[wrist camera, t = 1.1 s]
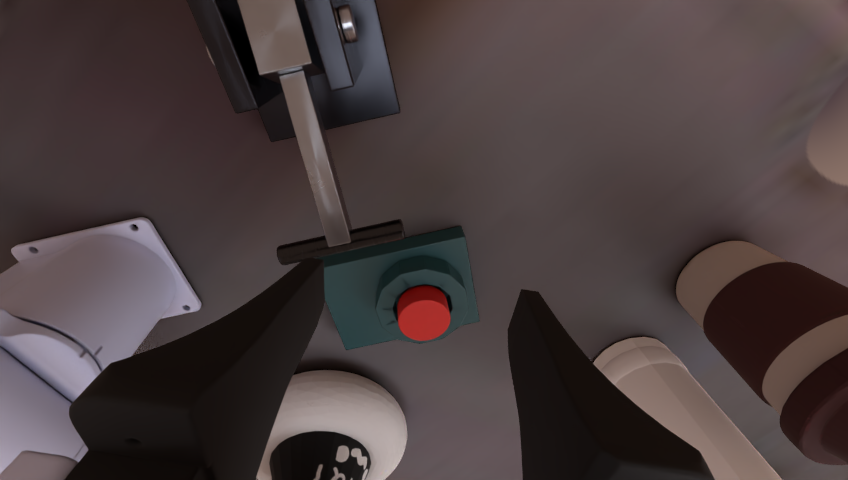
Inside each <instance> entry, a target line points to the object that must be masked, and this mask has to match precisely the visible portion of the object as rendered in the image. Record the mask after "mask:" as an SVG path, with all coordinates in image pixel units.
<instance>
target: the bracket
mask: <svg viewBox="0 0 848 480" xmlns="http://www.w3.org/2000/svg"><path fill="white" fill-rule="evenodd" d="M187 2H188V4H189V7H190V9H191V11H192V14H193V16H194V18H195V20H196V23H197V25H198V27H199V30H200V32H201V34H202V37H203V39H204V41H205V44H206V49H207V52H208V55H209V57H210V59H211V61H212V63H213V65H214V66H215V67H216V69H217V71H218V74H219V76H220V78H221V81H222V83H223V85H224V88H225V90H226V92H227V95H228V97H229V99H230V101H231V104H232V106H233V108H234V111H235V113H242V112H246V111H251V110H255V109H258V111H259V113H260V116H261V118H262V121H263V123H264V126H265V128H266V131H267V133H268V135H269V138H270V140H271V142H275V141H279V140H283V139H288V138H292V137H296V134H295V131H294V127H293V124H292V120H291V117H290V114H289V110H288V107H287V103H286V100H285V96H284V93H283V90H282V86H281V83H280V84H279V83H276V82H274V81H272V80H269V79H267V78H265V77H262V76H260V75H259V73H258V70H257V66H256V63H255V60H254V57H253V53H252V50H251V47H250V43H249V40H248V37H247V34H246V30H245V27H244V24H243V20H242V17H241V14H240V11H239V7H238V4H237V0H187ZM303 2H304V6H305V9H306V12H307V15H308V19H309V22H310V25H311V29H312V32H313V35H314V38H315V42H316V45H317V48H318V52H319V55H320V58H321V61H322V65H323V68H324V71H325V73H323V74H319V75H314V76H310V77H311V81H312V84H313V88H314V92H315V95H316V99H317V103H318V106H319V110H320V114H321V117H322V121H323V125H324V128H325V130H327V129H332V128H336V127H340V126H345V125H349V124H353V123H358V122H362V121H367V120H371V119H375V118H380V117H384V116H388V115H393V114H397V113H400V107H399V103H398V98H397V94H396V89H395V85H394V80H393V76H392V72H391V67H390V63H389V58H388V54H387V49H386V45H385V41H384V36H383V32H382V27H381V23H380V18H379V14H378V10H377V5H376V1H375V0H303Z"/></svg>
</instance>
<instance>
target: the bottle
mask: <svg viewBox="0 0 848 480" xmlns="http://www.w3.org/2000/svg"><path fill="white" fill-rule="evenodd" d="M593 364H594V365H595V366H596V367H597V368H598V369H599V370H600V371H601V372H602V373H603V374H604V375H605V376H606V377H607V379H608V380H609V381H611V382H612V383H613V384H614V385H615V386H616V387H617V388H618V389H619V390H620V391H621V392H622V393H624V394H625V395H626V396H627V397H628V398H629V399H630V400H631V401H633V402H634V403H635V404H636V405H637V406H639V407H640V408H641V409H642V410H643V411H645V412H646V413H647V414H648V415H650V416H651V417H652V418H654V419H655V420H656V421H658V422H659V423H660V424H661V425H663V426H664V427H665V428H667V429H668V430H670V431H671V432H673V433H674V434H675V435H677V436H678V437H680V438H681V439H683V440H684V441H686V442H687V443H689V444H690V445H691V446H693V447H694V448H696V449H697V450H699V451H700V453H701V454H702V456H703V458H704V460H705V461H706V463H707V465H708V467H709V469H710V471H711V473H712V475H713V477H714V479H715V480H782V479H781V477H780V476H779V475H778V474H777V473H776V472H775V471H774V469H773V468H772V467H771V466H770V465H769V464H768V463H767V461H766V460H765V459H764V458H763V457H762V456H761V454H760V453H759V452H758V451H757V450H756V449H755V448H754V446H753V445H752V444H751V443H750V442H749V441H748V440H747V438H746V437H745V436H744V435H743V434H742V433H741V432H740V430H739V429H738V428H737V427H736V426H735V425H734V423H733V422H732V421H731V420H730V419H729V418H728V417H727V415H726V414H725V413H724V412H723V411H722V410H721V409H720V407H719V406H718V405H717V404H716V403H715V402H714V401H713V399H712V398H711V397H710V396H709V395H708V394H707V392H706V391H705V390H704V389H703V388H702V387H701V386H700V384H699V383H698V382H697V381H696V380H695V379H694V378H693V376H692V375H691V374H690V373H689V372H688V370H687V368H686V367H685V365H684V364H683V363H682V362H681V361H680V360H679V358H678V357H677V356H676V355H674V354H673V353H672V352H671V351H670V350H669V349H668V348H667V347H666V345H664V344H663V343H662V342H660V341H659V340H657V339H653V338H648V337H637V338H629V339H626V340H623V341H620V342H617V343H615V344H613V345H612V346H610V347H609V348H607V349H605V350H604V351H603V352H602V353H601V354H600V355H599V356H598V357H597V358H596V359H595V361H594V363H593Z"/></svg>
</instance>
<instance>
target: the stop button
mask: <svg viewBox="0 0 848 480" xmlns="http://www.w3.org/2000/svg"><path fill="white" fill-rule="evenodd" d="M397 310H398V325H399V328H400V330H401V331H402V333H403V334H404V335H406V336H407V337H409V338H411V339H414V340H419V341H425V340H431V339H434V338H436V337H439V336H440V335H442V334H443V333H444V332H445V331H446V330H447V328H448V326H449V324H450V318H451V317H450V312H449V307H448V303H447V299H446V297H445V295H444V294H443V293H442V292H441V291H440V290H439V289H437V288H435V287H433V286H428V285H420V286H415V287H412V288H410V289H408V290H407V291H405V292H404V293H403V294H402V295H401V297H400V298H399V301H398V305H397Z"/></svg>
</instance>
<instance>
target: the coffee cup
mask: <svg viewBox="0 0 848 480" xmlns="http://www.w3.org/2000/svg"><path fill="white" fill-rule="evenodd" d="M676 295H677V299H678V301H679V302H680V304H681V305H682V307H683V308H684V309H685V310H686V311H687V312H688V313H689V314H690V315H691V317H692V318H693V319H694V320H695V321H696V322H697V323H698V324H699V325H700V327H701V328H702V329H703V330H704V333H705V335H706V337H707V338H708V340H709V341H710V342H711V343H712V344H713V345H714V347H715V348H716V349H717V350H718V351H719V352H720V353H721V354H722V356H723V357H724V358H725V359H726V360H727V361H728V362H729V364H730V365H731V366H732V367H733V368H734V369H735V370H736V371H737V373H738V374H739V375H740V376H741V377H742V378H743V379H744V380H745V382H746V383H747V384H748V385H749V386H750V387H751V388H752V389H753V391H754V392H755V393H756V394H757V395H758V396H759V397H760V398H761V399H762V400H763V401H764V402H765V403H766V404H768V405H770V406H772V407H773V408H774V409H775V410H776V411H777V412H778V413H779V414H780V427H781V429H782V431H783V433H784V434H785V435H786V437H787V438H788V439H789V440H790V441H791V442H792V443H793V444H794V445H795V446H796V447H797V448H798V449H799V450H800V451H801V452H802V453H803V454H804V455H805V456H806V457H808V458H809V459H811V460H813V461H815V462H818V463H822V464H828V465H847V464H848V288H847V287H845V286H843V285H841V284H839V283H837V282H835V281H833V280H831V279H829V278H827V277H825V276H823V275H821V274H819V273H817V272H815V271H813V270H811V269H809V268H807V267H805V266H802V265H800V264H797V263H792V262H788V261H786V260H784V259H782V258H780V257H778V256H776V255H774V254H772V253H770V252H768V251H766V250H764V249H762V248H760V247H758V246H756V245H754V244H752V243H749V242H744V241H727V242H722V243H719V244H716V245H713V246H711V247H709V248H707V249H705V250H704V251H702V252H700V253H699V254H698V255H696V256H695V257H694V258H693V259H692V260H691V261H690V262H689V263H688V264H687V265H686V266H685V268H684V269H683V270H682V272H681V274H680V276H679V278H678V281H677V284H676Z"/></svg>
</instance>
